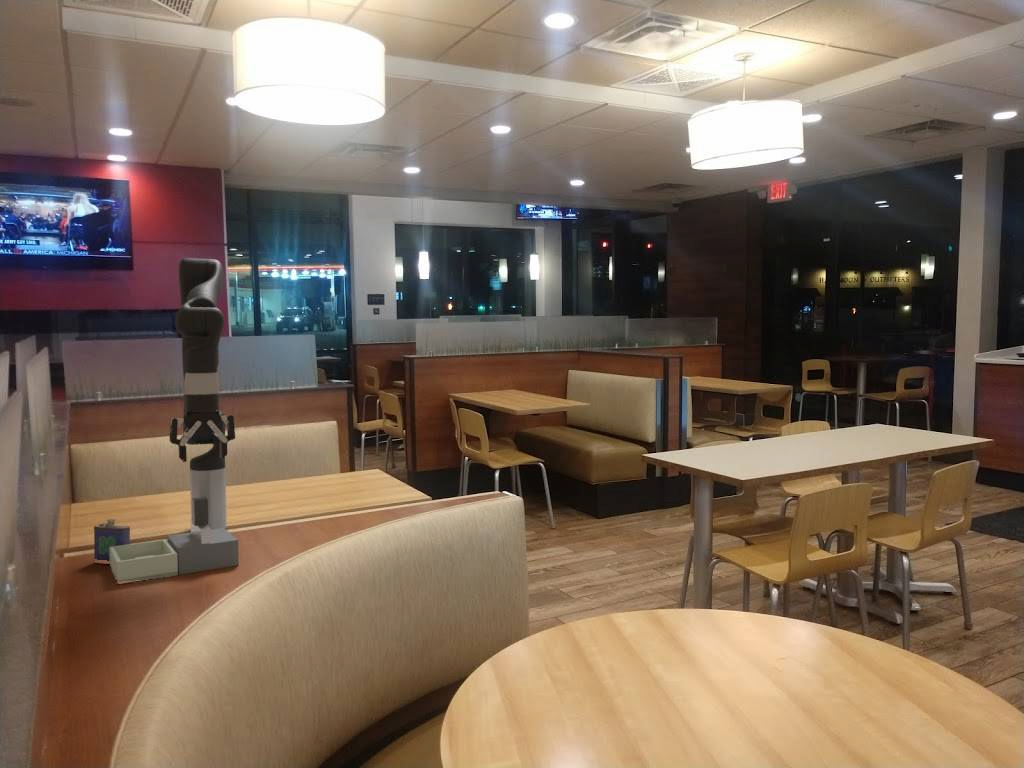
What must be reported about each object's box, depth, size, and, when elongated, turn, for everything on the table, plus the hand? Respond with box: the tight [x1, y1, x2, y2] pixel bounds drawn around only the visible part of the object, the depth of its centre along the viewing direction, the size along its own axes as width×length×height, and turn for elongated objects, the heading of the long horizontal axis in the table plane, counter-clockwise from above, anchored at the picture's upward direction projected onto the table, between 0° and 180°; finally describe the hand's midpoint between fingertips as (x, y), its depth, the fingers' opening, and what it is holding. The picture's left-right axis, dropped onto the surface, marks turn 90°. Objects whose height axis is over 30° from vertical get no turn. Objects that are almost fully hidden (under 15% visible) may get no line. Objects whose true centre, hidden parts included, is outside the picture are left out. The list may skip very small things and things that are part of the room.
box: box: [109, 539, 179, 583], centre depth 170 cm, size 15×12×5 cm
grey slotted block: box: [166, 528, 240, 576], centre depth 177 cm, size 14×13×6 cm
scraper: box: [190, 497, 211, 545], centre depth 176 cm, size 12×3×10 cm, turn 34°
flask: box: [93, 518, 131, 561], centre depth 177 cm, size 9×3×11 cm, turn 78°
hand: (203, 459), depth 178 cm, fingers open, 8 cm apart
